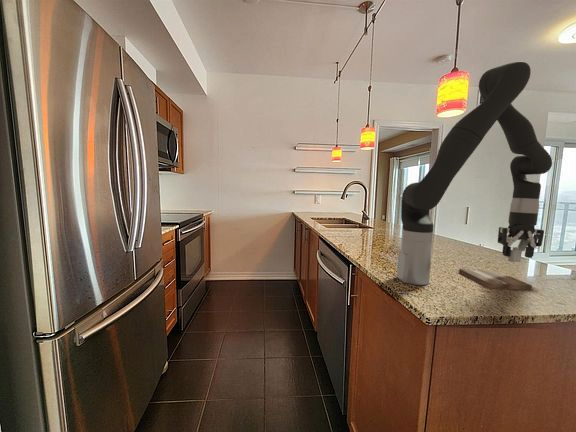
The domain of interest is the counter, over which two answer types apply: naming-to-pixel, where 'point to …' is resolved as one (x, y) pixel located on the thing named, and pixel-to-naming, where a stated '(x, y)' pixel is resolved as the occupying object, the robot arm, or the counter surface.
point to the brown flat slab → (495, 279)
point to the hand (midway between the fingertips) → (517, 256)
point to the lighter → (517, 251)
